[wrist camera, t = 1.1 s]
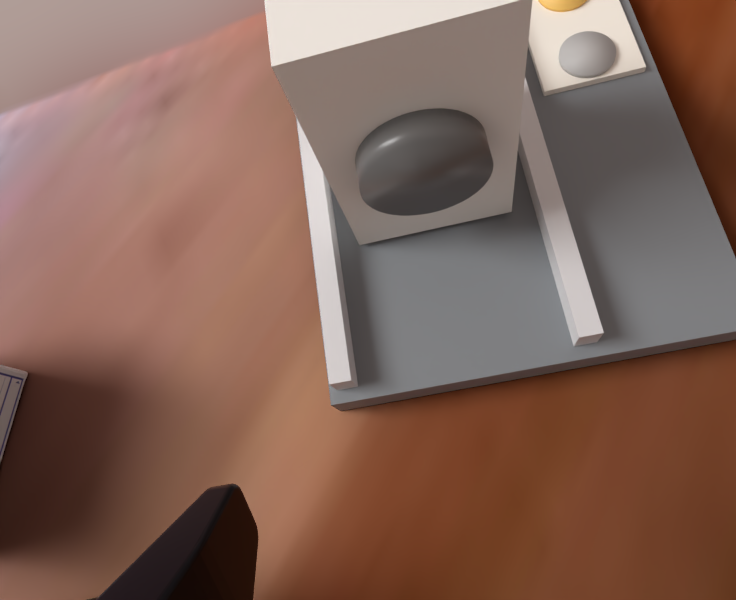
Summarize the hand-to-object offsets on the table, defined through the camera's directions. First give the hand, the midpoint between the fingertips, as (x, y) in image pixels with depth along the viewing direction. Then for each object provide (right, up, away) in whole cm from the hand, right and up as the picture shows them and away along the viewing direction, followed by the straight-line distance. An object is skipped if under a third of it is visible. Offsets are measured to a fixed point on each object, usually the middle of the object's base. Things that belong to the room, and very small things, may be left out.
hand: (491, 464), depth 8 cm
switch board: (+3, +8, +17) cm, 19 cm away
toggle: (+1, +7, +15) cm, 16 cm away
